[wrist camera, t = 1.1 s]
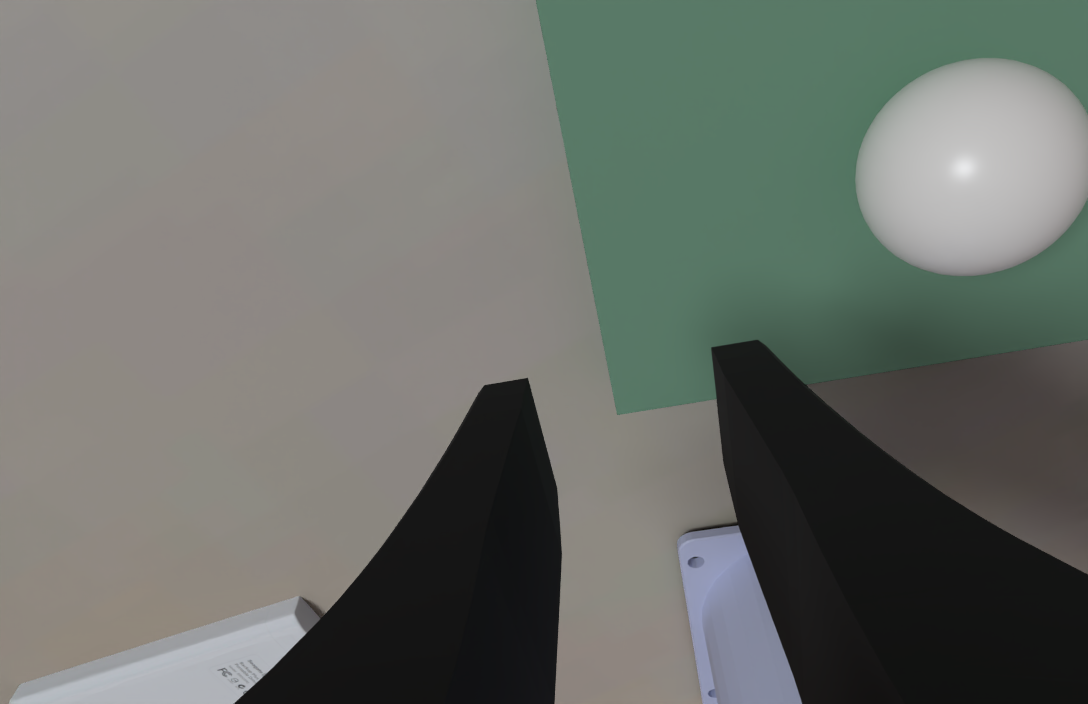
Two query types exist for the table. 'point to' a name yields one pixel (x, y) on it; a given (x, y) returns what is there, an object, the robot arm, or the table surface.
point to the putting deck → (783, 185)
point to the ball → (974, 167)
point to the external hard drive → (183, 663)
